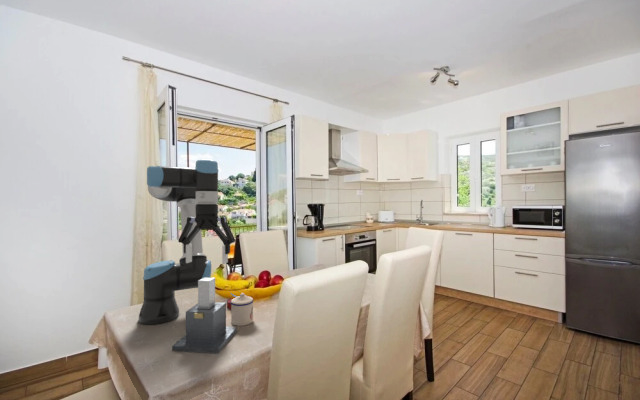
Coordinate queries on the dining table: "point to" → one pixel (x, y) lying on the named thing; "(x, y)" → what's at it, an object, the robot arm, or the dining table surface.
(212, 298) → the post
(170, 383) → the dining table surface
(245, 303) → the teacup with lid
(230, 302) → the canned food
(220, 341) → the stand
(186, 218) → the robot arm
